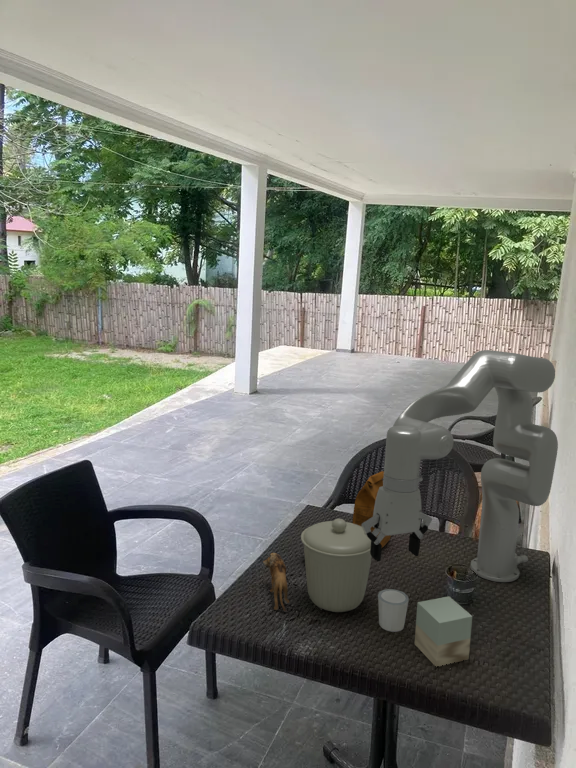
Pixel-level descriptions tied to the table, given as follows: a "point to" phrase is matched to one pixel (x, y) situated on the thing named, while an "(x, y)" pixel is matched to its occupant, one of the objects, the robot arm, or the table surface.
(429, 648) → the tower base
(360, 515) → the coffee package
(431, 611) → the tower top
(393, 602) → the shot glass
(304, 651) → the table surface
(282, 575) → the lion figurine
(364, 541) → the canister
